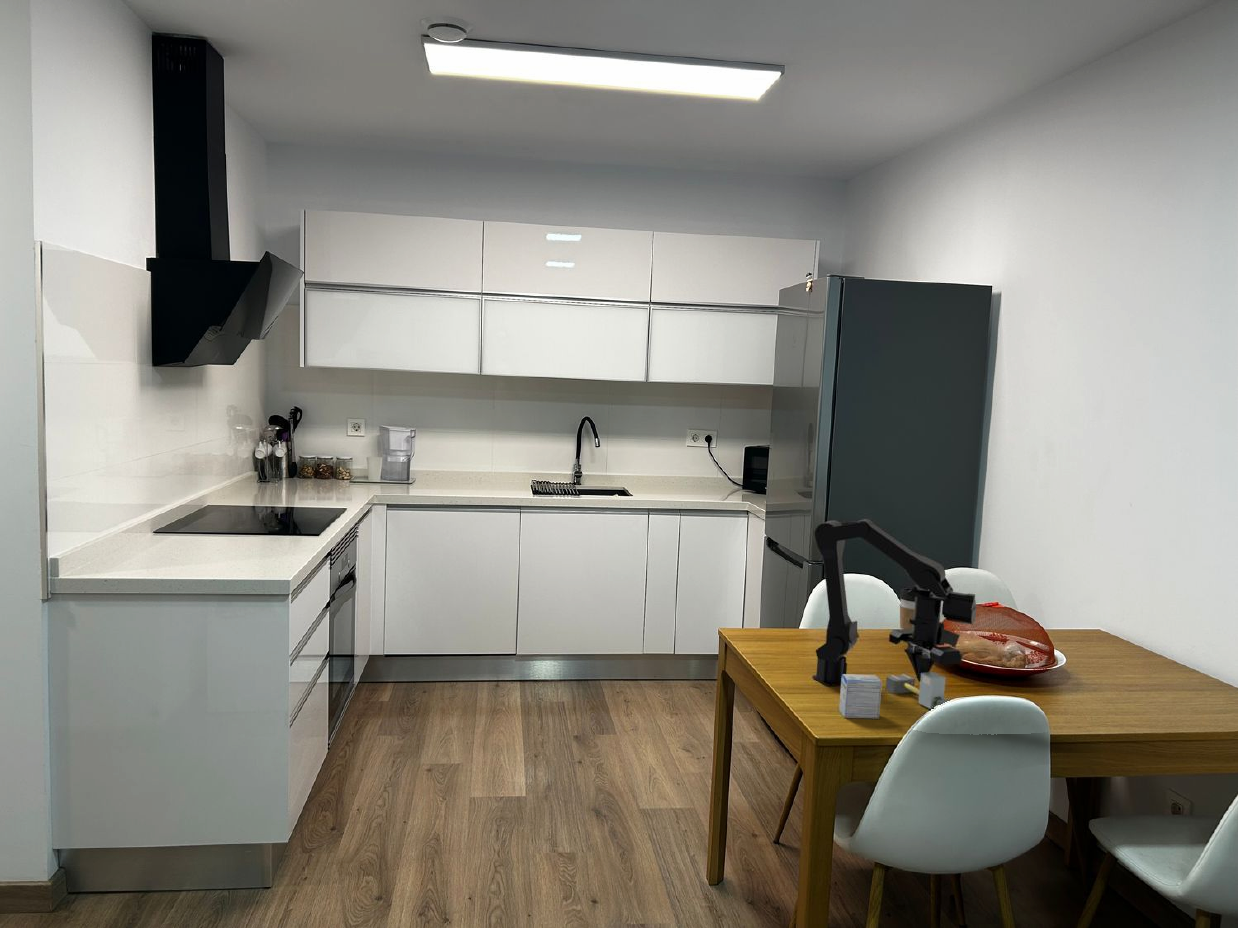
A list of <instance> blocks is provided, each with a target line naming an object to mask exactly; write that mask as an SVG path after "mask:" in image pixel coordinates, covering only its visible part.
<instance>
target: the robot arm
mask: <svg viewBox="0 0 1238 928" xmlns="http://www.w3.org/2000/svg"><path fill="white" fill-rule="evenodd" d="M813 532H814V533H813V536H814V539H815V543H816V548H817V550H818V552H819V554H820V556H821V558H822V560H823V567H824V568H823V569H824V576H825V577H824V578H825V579H824V580H825V586H826V595H827V596H826V597H827V604H828V606H827V607H828V614H829V615H828V616H829V617H828V623H827V628H826V635H825V637H826V638H825V643H824V644H823V645H821V646H820V647H818V648H817V649H816V650H815V654H816V658H817V660H816V661H817V662H816V674H814V675H812V677H811V678H812V679H814V680H816V681H817V682H818V683H821V684H823V685H825V686H827V687H829V686H841V679H842V674H847V673H848V672H847V670H848V663H847V657H846V656H847V654H848V652H849V651H850V650H852V649H853V648H854V647H855V646H856V644H857V642H858V638H860V635H859V632H858V621H857V620H854V621H852V620H851V619H852V618H850V616H849V612H848V602H847V594H846V583H845V575H844V574H845V573H844V565H843V564H844V563H843V553H844V549H845V547H846V546H845V545H846V544H845V543H846V540H851V539H857V538H861V539H863V540H864V541H866V542H867V543H868V544H870V545H871V546H873V547H874V548H875V549H877V550H878V551H879V552H881V553H882V554H883V555H885V556H886V557H888V558H889V559H890V560H892V561H893V562H895V563H896V564H897V565H899V566H900V567H901V568H902V569H903V570H904V571H905V573H906V574H907V576H908V577H909V578H910V580H912V581H913V582H914V583H915V585H914V586H913V587H912V590H910V591H909V592H907V595H908V596H914V597H916V598H915V610H914V619H910V622H909V623H910V624H913V631H911V630H909V629H893V630H892V631H891V632H889V635H888V636H889V637H888V641H889V642H890V643H891V644H894V645H899V644H900V643H901V642H903V641H904V643H906V644H907V645H906V648H905V649H904V653H906V656H907V657H908V660H909V661H910V664H911V666H912V668H913V671H914V673H915V676H916V678H917V681H918V682H919V683H920V680H921V673H926V672H931V669H932V667H933V665H934V664H935V663H937V664H938V665H941V666H942V665H954V664H962V659H963V657H962V656H963V653H962V652H961V651H960V650H959V649H956V647H957V644H958V641H959V638H960V634H959V633H955V632H952V631H950V630H947V629H945V624H944V622H942V621H940V620H941V614H942V616H943V618H945V619H946V621H948V622H956V623H960V624H966V625H974V623H975V620H976V616H977V606H976V603H977V602H976V594H974V593H962V592H958V591H957V592H956V591H954V589H953V587H952V586H951V584H950V582H949V580H948V579H947V578H946V575H947V574H946V571H945V567H944V566H943V565H942V564H940V563H939V562H937V561H935V560H933V559H931V558H929V557H927V556H923V555H920V554H918V553H916V552H914V551H912V550H911V549H909V548H908V547H906V546H905V545H904V544H903V543H901V542H900V541H898V540H897V539H895V538H894V537H893V536H891V535H890V534H889V533H887V532H885V531H884V530H883V529H881V528H880V527H878V526H877V525H875V524H874V522H873V521H872V520H870V519H869V518H868V519H867V518H863V519H861V520H856V521H855V520H854V521H847V522H840V521H838V520H835V519H834V520H828V521H826V522H822V523H820V524H819V525H818V526H816V528H815V530H814V531H813ZM944 645H947V646H944Z"/></svg>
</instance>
